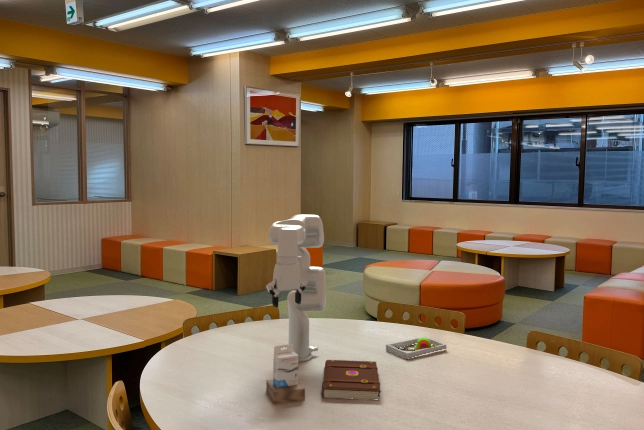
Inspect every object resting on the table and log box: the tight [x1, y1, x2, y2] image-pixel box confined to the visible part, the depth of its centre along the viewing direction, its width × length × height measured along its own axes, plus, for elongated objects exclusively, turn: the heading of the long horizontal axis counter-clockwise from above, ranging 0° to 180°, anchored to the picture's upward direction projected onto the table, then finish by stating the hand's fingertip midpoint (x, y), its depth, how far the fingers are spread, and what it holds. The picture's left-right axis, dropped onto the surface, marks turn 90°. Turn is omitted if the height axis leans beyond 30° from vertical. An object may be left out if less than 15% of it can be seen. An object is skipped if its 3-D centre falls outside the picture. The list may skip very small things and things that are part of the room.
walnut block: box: [265, 379, 306, 405], centre depth 203 cm, size 12×12×5 cm
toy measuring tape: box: [396, 336, 436, 351], centre depth 259 cm, size 6×20×7 cm, turn 78°
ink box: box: [272, 343, 299, 388], centre depth 202 cm, size 8×5×15 cm, turn 118°
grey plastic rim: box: [385, 336, 447, 360], centre depth 259 cm, size 26×15×3 cm, turn 123°
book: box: [321, 359, 381, 400], centre depth 217 cm, size 23×32×5 cm
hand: (286, 304), depth 201 cm, fingers open, 9 cm apart
